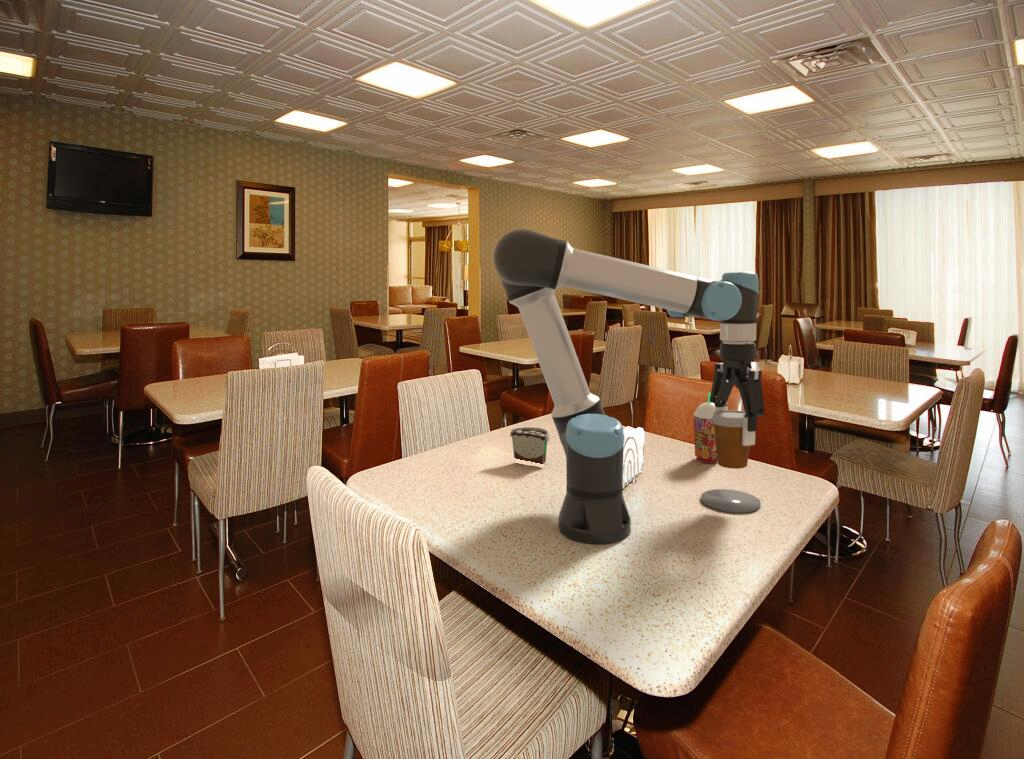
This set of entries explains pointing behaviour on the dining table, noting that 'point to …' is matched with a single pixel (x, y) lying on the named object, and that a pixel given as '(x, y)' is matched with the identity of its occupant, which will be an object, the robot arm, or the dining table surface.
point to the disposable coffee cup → (730, 439)
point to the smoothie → (705, 433)
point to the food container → (530, 444)
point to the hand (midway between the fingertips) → (734, 439)
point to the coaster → (730, 501)
